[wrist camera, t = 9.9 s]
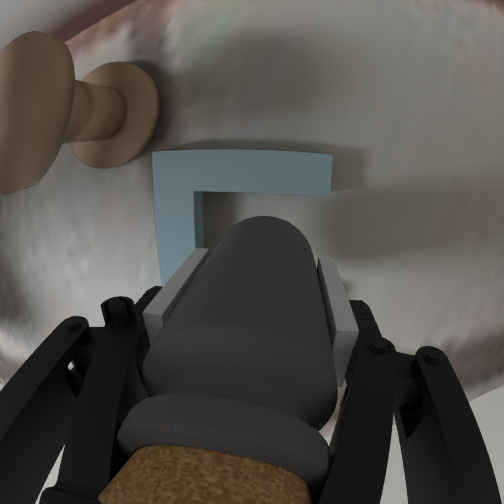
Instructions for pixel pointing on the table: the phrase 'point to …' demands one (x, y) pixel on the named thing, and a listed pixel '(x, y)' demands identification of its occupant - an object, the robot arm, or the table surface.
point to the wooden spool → (68, 110)
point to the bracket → (222, 189)
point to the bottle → (236, 382)
